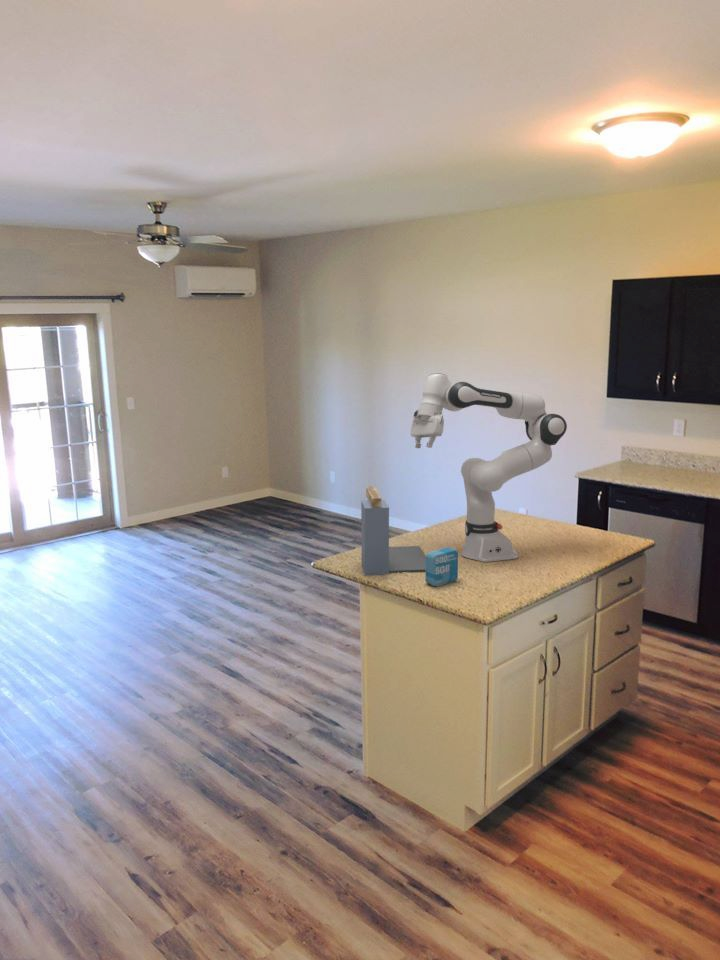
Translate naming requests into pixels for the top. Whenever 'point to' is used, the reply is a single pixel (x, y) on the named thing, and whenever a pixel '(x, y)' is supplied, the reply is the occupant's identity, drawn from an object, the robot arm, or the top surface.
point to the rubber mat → (406, 559)
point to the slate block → (375, 538)
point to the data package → (441, 566)
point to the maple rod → (373, 497)
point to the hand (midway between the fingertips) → (423, 447)
